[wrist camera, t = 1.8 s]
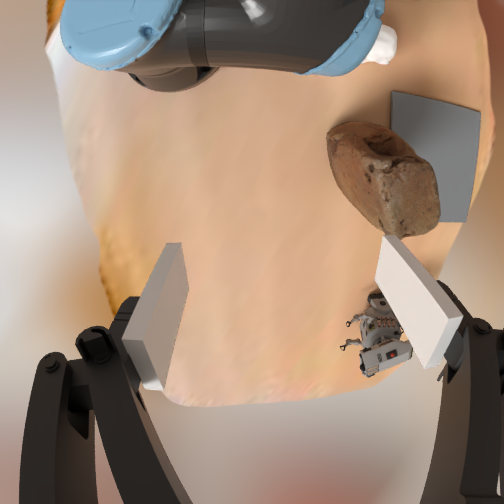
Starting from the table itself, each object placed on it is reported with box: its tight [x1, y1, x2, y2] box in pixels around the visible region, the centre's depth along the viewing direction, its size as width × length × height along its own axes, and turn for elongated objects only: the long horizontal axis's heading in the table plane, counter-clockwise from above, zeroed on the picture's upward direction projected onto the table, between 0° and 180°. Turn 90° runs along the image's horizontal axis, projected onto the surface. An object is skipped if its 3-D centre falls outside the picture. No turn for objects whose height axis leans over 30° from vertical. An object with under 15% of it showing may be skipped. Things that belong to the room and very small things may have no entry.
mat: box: [390, 91, 481, 222], centre depth 41 cm, size 22×20×1 cm
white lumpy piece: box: [361, 24, 397, 64], centre depth 29 cm, size 6×8×12 cm
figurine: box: [340, 294, 413, 377], centre depth 50 cm, size 9×12×15 cm
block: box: [326, 122, 441, 240], centre depth 33 cm, size 11×8×20 cm
